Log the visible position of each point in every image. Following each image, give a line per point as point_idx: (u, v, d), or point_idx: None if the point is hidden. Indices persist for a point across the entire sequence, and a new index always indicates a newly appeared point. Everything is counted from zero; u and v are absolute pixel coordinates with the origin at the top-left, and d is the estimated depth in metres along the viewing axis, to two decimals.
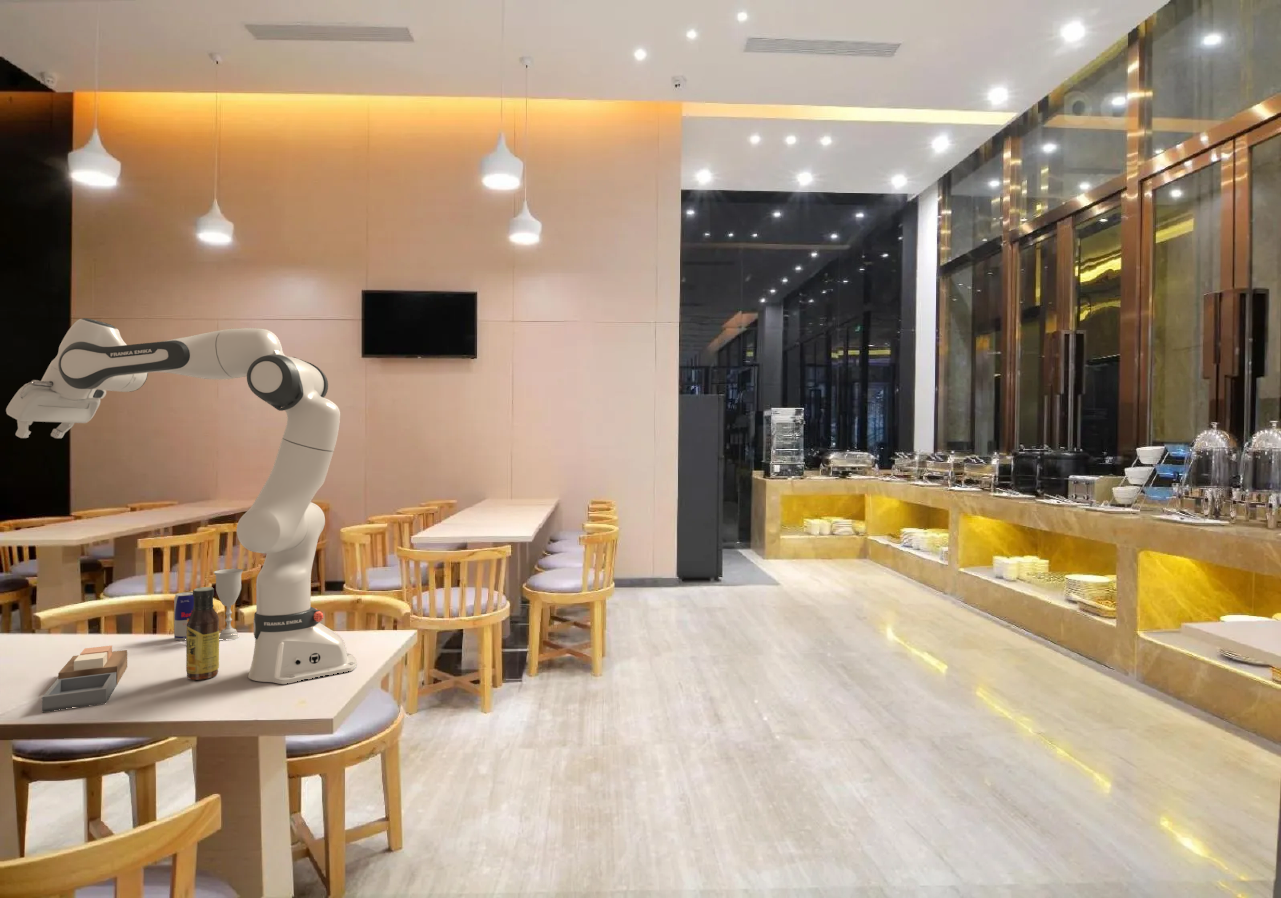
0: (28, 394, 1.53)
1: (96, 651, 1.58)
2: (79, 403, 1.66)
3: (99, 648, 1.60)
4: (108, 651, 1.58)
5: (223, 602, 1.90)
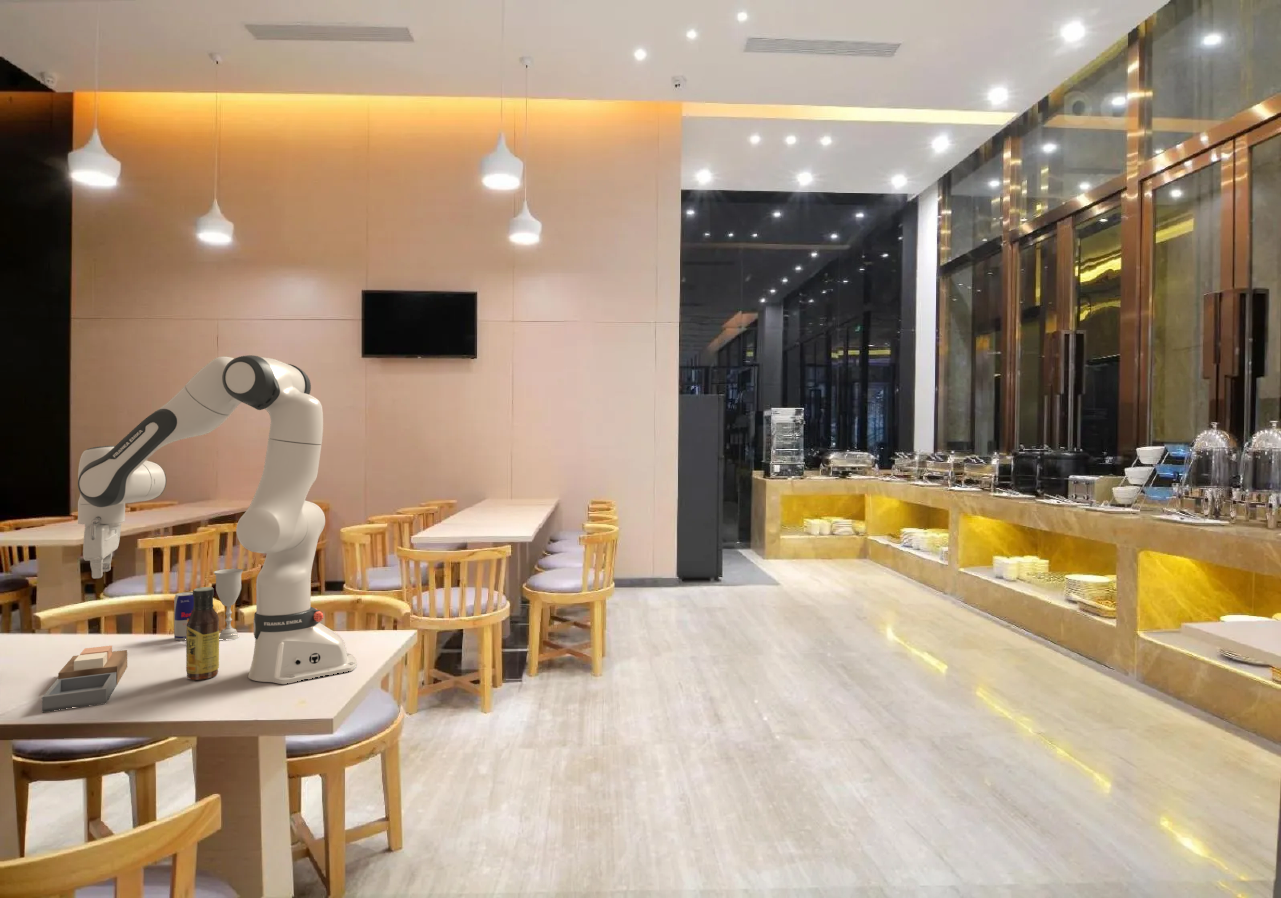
0: (98, 533, 1.58)
1: (96, 651, 1.58)
2: (113, 530, 1.70)
3: (99, 648, 1.60)
4: (108, 651, 1.58)
5: (223, 602, 1.90)
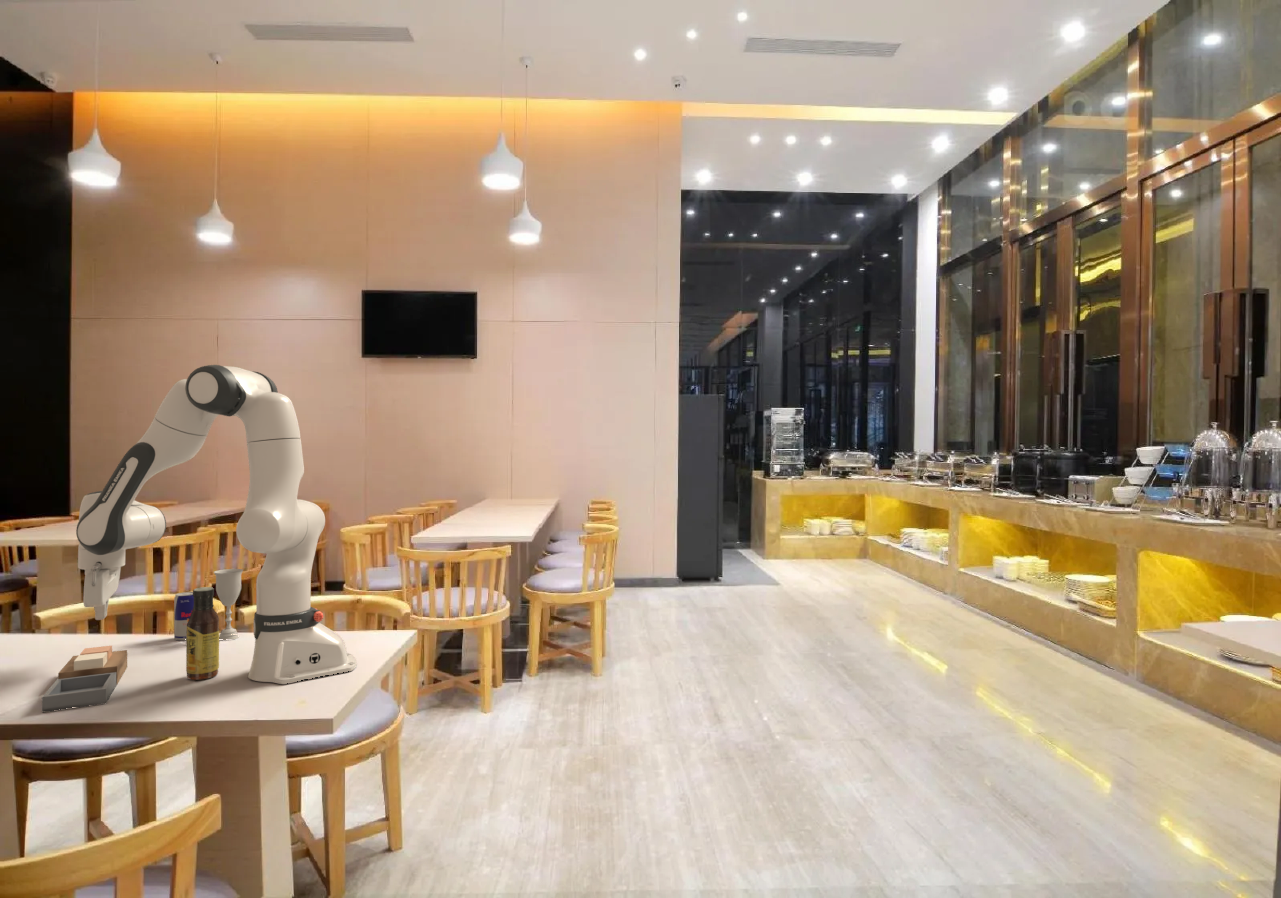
0: (98, 579, 1.58)
1: (96, 651, 1.58)
2: None
3: (99, 648, 1.60)
4: (108, 651, 1.58)
5: (223, 602, 1.90)
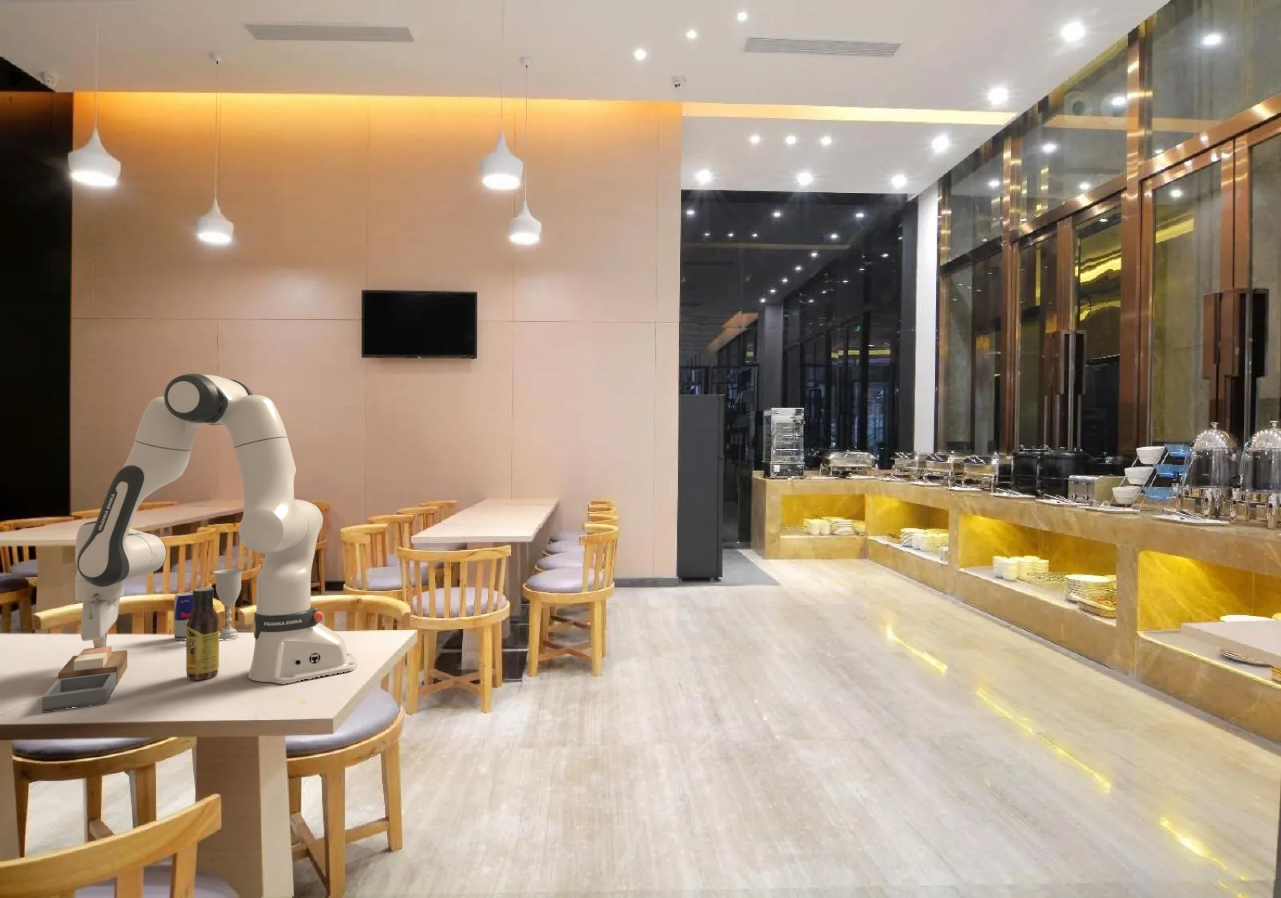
0: (96, 612, 1.54)
1: (95, 651, 1.57)
2: None
3: (98, 649, 1.60)
4: (107, 652, 1.58)
5: (223, 602, 1.90)
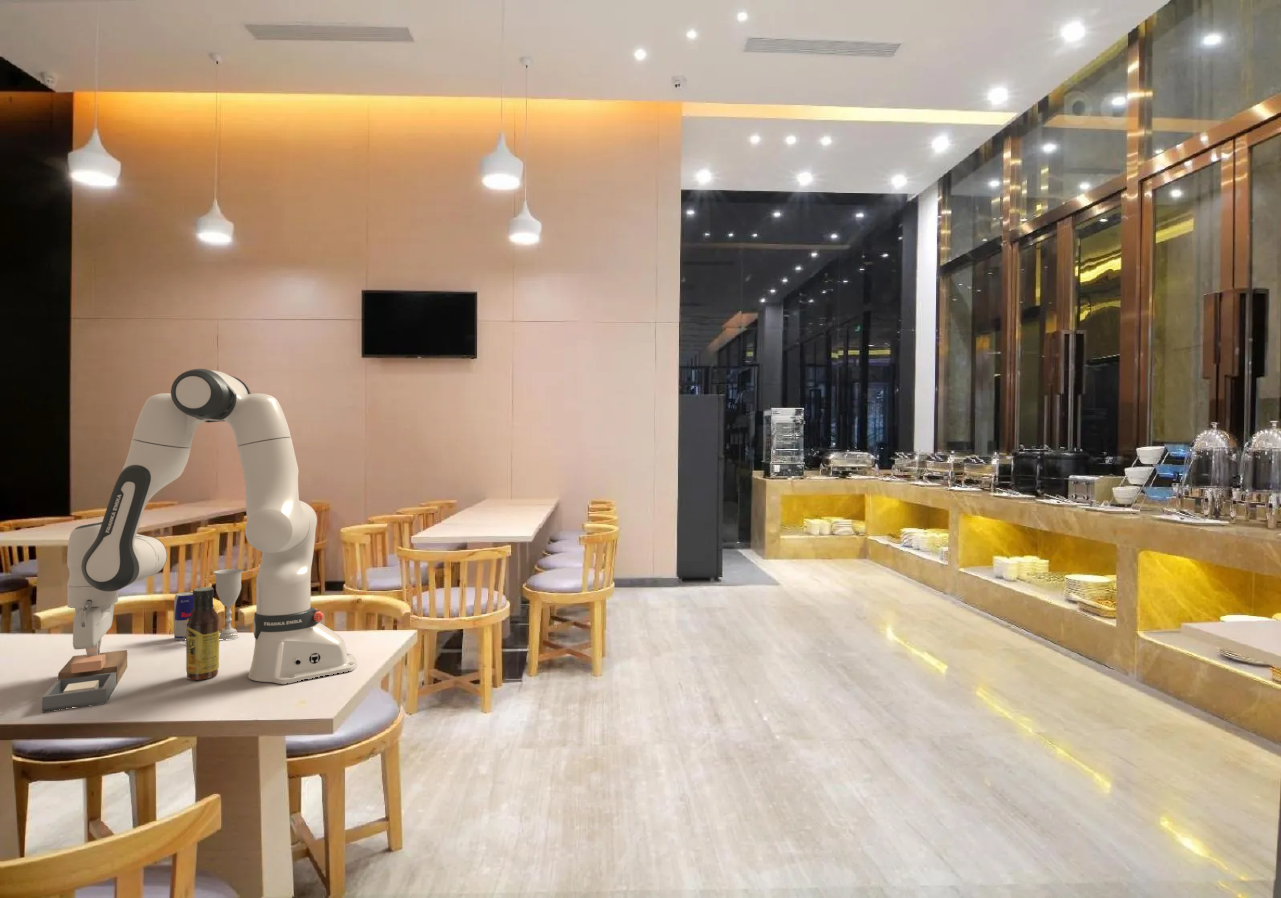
0: (88, 619, 1.48)
1: (88, 661, 1.51)
2: None
3: (92, 657, 1.53)
4: (101, 661, 1.51)
5: (223, 602, 1.90)
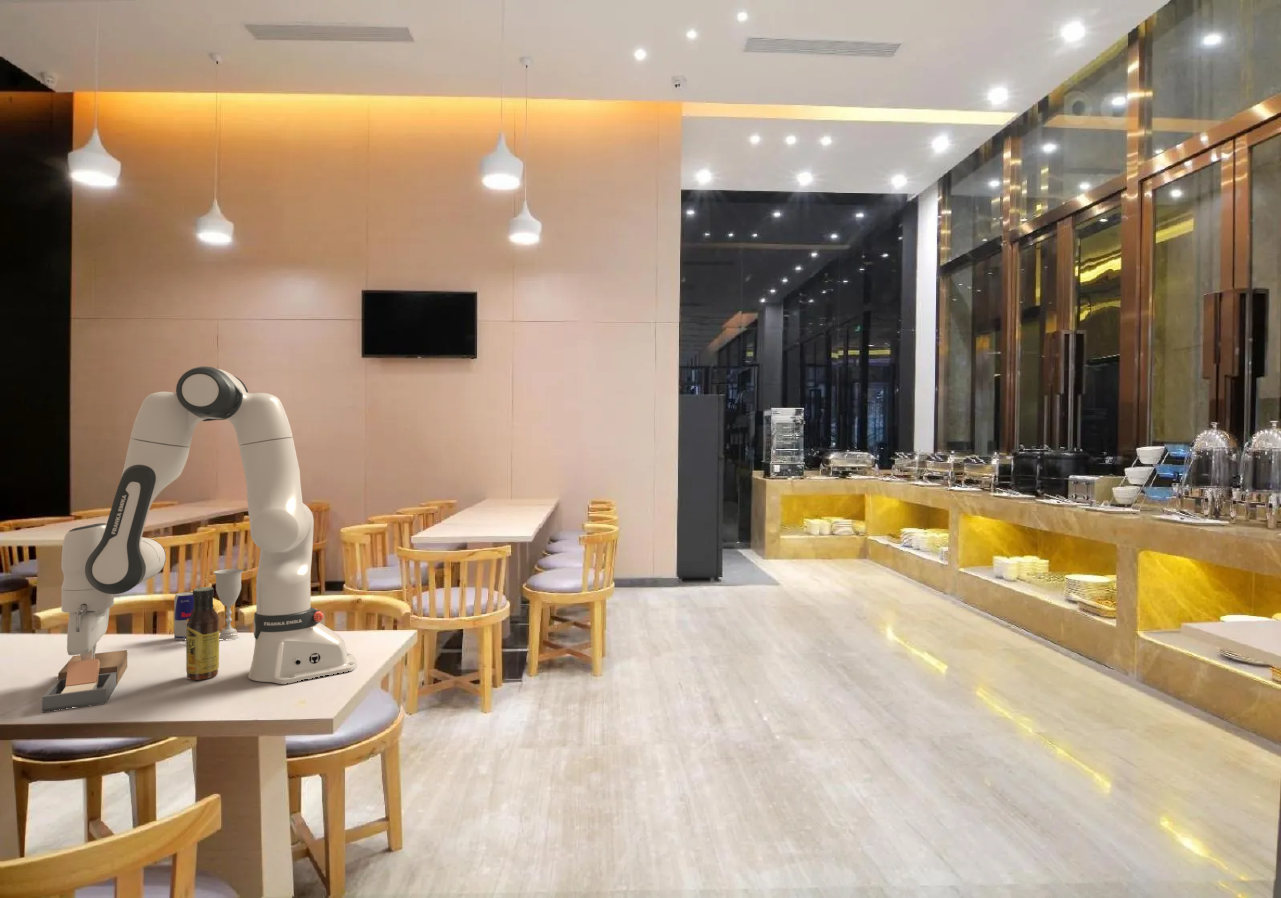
0: (83, 624, 1.43)
1: (82, 679, 1.46)
2: None
3: (85, 668, 1.48)
4: (96, 680, 1.47)
5: (223, 602, 1.90)
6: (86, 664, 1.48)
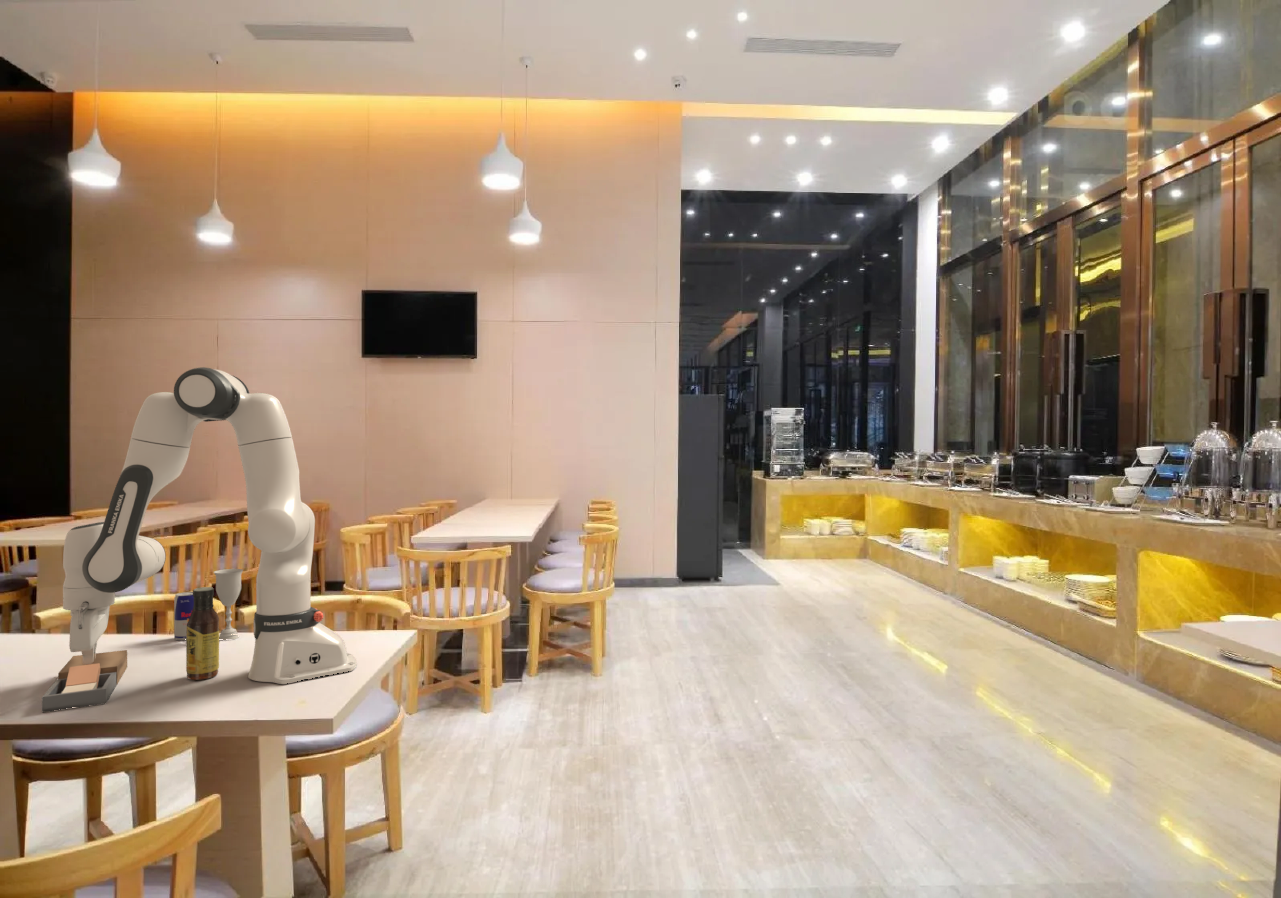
0: (85, 621, 1.45)
1: (83, 680, 1.47)
2: None
3: (86, 671, 1.49)
4: (96, 681, 1.48)
5: (223, 602, 1.90)
6: (87, 668, 1.49)
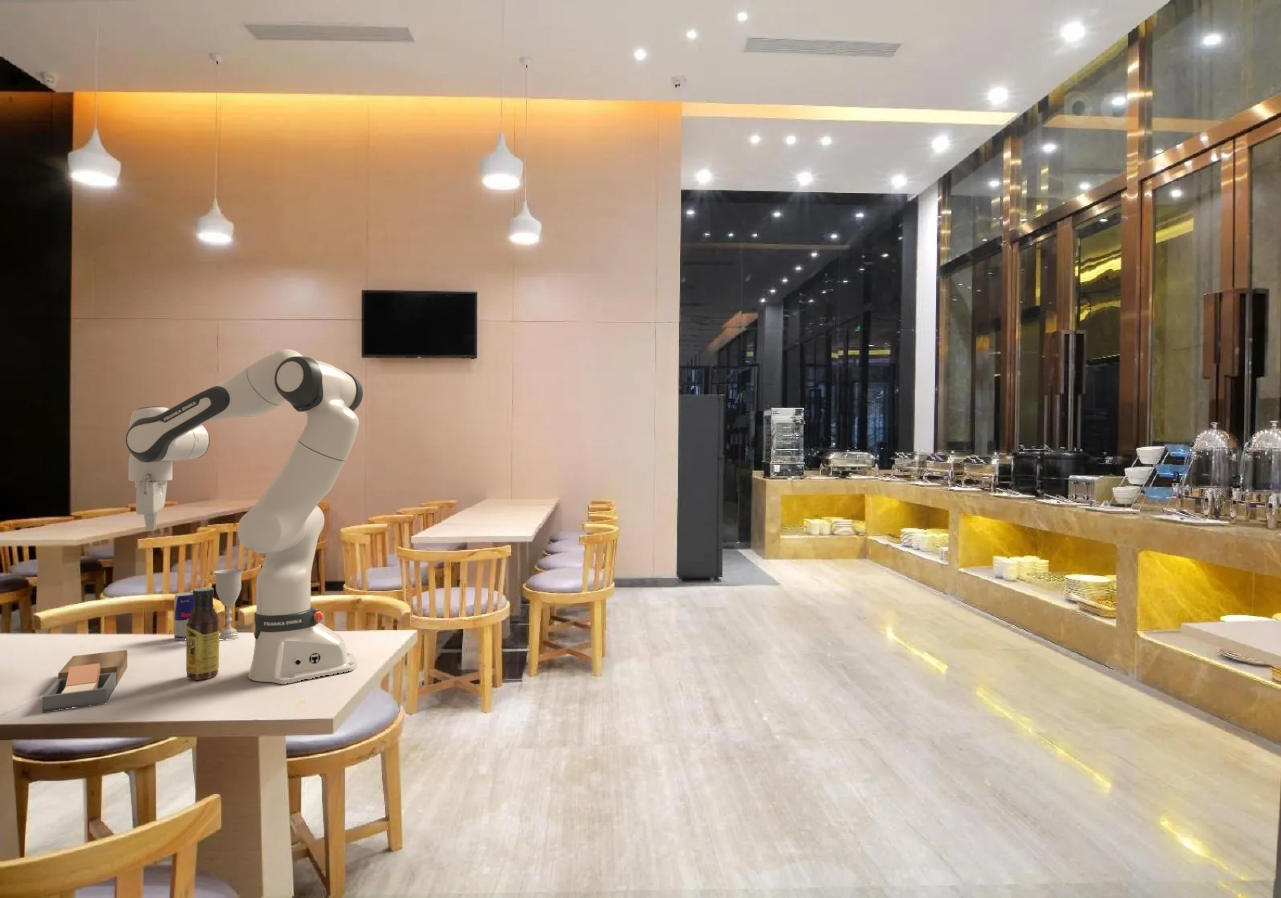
0: (149, 488, 1.65)
1: (83, 680, 1.47)
2: (160, 489, 1.77)
3: (86, 671, 1.49)
4: (96, 681, 1.48)
5: (223, 602, 1.90)
6: (87, 668, 1.49)
